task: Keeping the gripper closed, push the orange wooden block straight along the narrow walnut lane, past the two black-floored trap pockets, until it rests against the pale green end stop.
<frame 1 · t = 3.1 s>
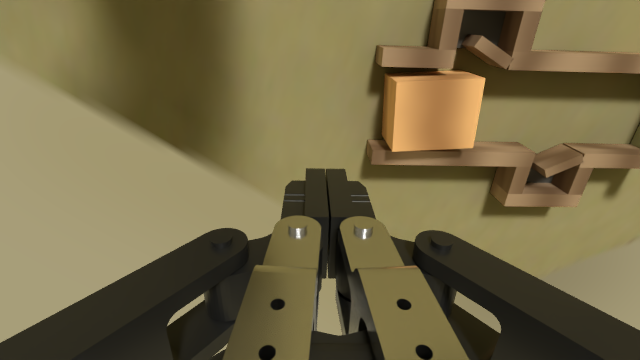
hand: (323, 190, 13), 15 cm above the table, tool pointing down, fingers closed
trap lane: (517, 106, 27), on the table
block: (419, 103, 27), resting in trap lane
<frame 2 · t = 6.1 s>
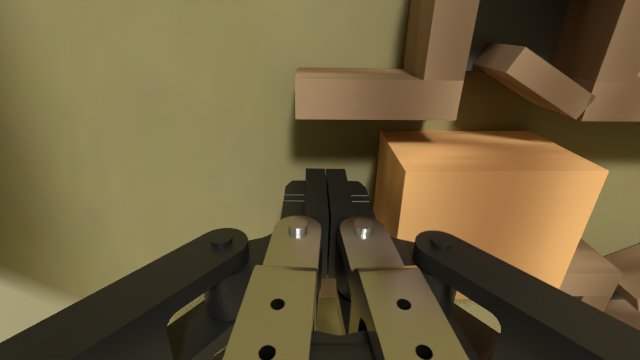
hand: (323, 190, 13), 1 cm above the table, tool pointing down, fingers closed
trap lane: (581, 176, 14), on the table
block: (444, 186, 14), resting in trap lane, touching gripper
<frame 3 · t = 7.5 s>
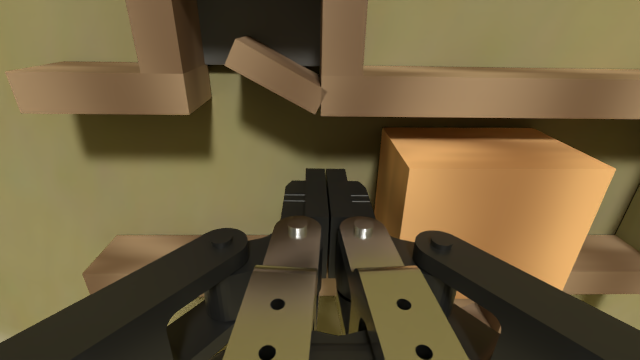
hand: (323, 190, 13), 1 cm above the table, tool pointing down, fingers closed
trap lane: (389, 173, 14), on the table
block: (446, 184, 14), resting in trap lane, touching gripper
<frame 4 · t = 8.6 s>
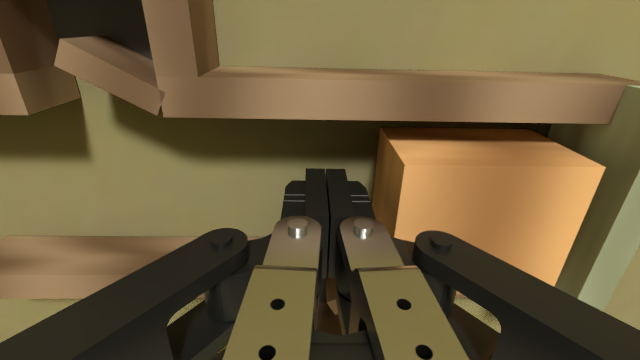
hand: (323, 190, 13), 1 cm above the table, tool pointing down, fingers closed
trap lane: (274, 175, 14), on the table
block: (442, 182, 14), resting in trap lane, touching gripper
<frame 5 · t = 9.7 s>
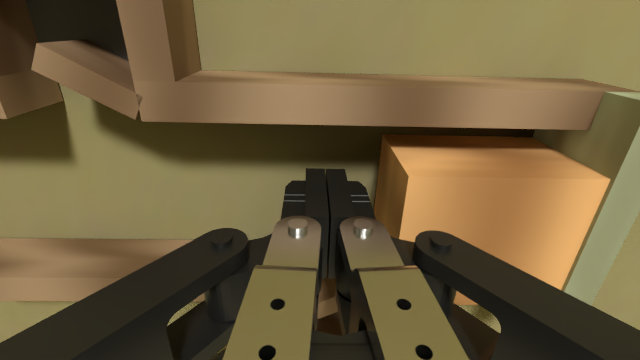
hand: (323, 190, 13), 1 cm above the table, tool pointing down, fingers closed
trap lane: (258, 179, 14), on the table
block: (445, 190, 14), resting in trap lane
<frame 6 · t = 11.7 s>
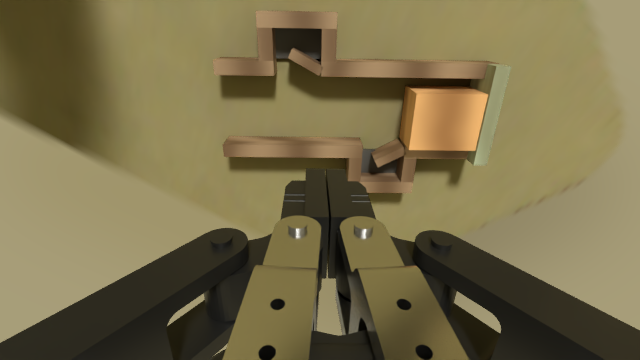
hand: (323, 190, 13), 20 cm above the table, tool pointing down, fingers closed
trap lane: (351, 106, 32), on the table
block: (432, 112, 32), resting in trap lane
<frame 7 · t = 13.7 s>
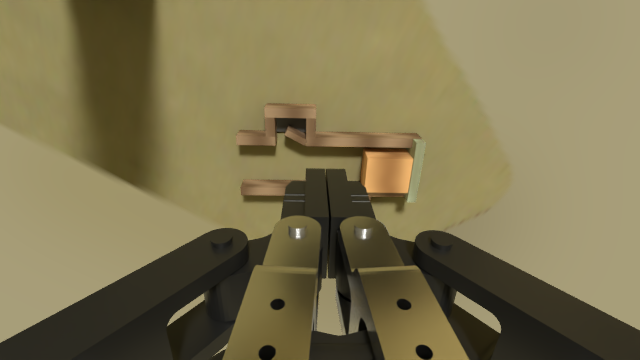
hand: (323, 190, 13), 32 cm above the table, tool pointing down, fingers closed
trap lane: (327, 160, 47), on the table
block: (382, 164, 48), resting in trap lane
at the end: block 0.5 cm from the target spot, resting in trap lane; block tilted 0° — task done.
